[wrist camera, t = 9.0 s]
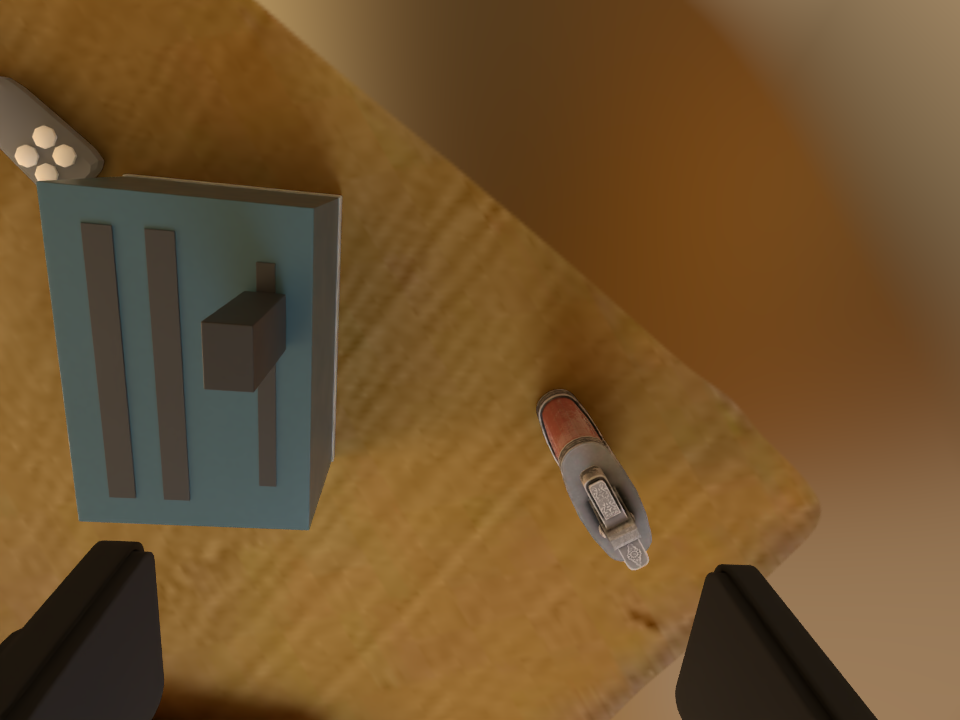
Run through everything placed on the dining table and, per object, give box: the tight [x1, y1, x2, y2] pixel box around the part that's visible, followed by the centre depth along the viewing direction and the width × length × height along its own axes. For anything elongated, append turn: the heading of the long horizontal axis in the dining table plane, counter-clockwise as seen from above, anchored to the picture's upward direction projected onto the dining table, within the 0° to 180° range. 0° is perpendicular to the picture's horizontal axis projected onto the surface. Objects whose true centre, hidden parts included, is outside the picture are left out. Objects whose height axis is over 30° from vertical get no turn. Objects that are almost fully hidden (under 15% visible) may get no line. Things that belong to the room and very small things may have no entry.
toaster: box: [36, 174, 342, 530], centre depth 31 cm, size 11×16×8 cm
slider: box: [201, 291, 286, 393], centre depth 24 cm, size 2×3×5 cm
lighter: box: [536, 389, 652, 570], centre depth 34 cm, size 8×3×10 cm, turn 28°
